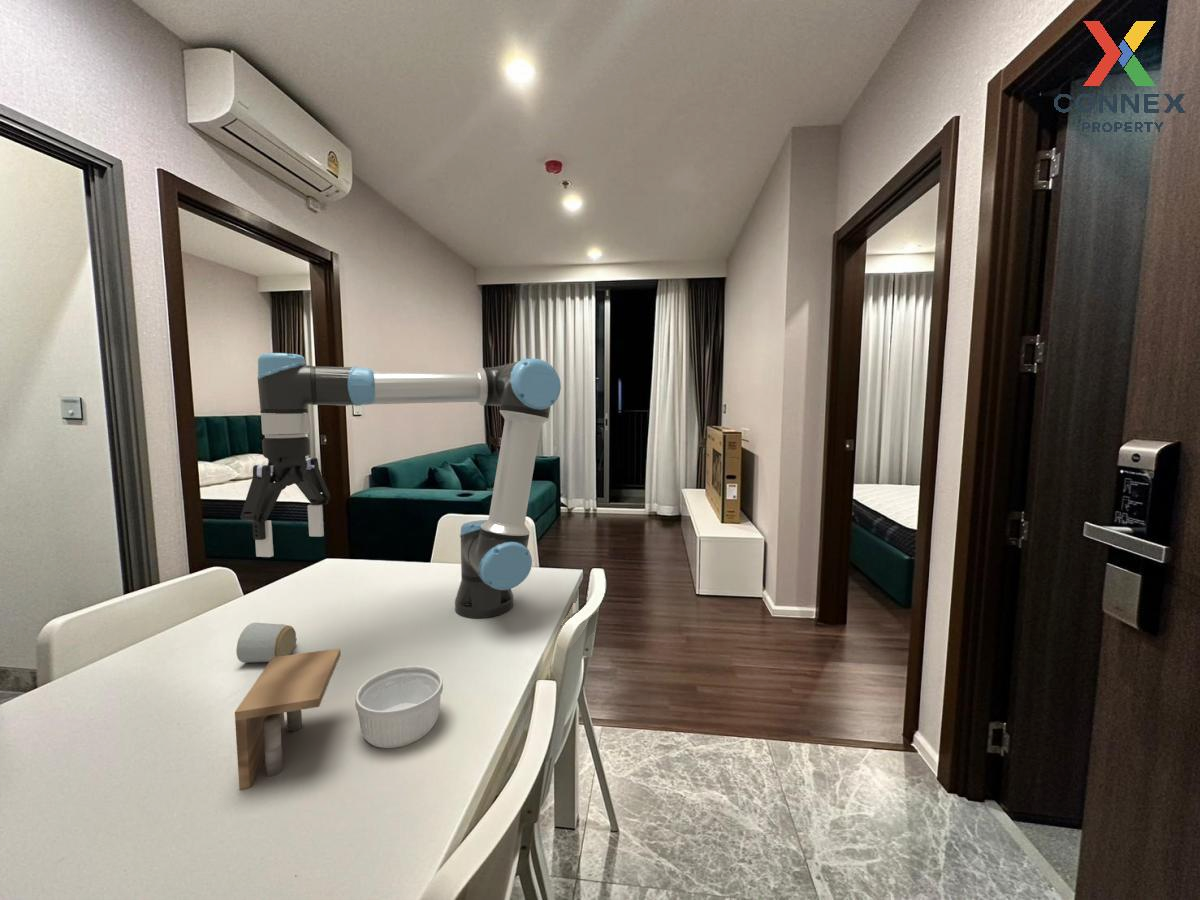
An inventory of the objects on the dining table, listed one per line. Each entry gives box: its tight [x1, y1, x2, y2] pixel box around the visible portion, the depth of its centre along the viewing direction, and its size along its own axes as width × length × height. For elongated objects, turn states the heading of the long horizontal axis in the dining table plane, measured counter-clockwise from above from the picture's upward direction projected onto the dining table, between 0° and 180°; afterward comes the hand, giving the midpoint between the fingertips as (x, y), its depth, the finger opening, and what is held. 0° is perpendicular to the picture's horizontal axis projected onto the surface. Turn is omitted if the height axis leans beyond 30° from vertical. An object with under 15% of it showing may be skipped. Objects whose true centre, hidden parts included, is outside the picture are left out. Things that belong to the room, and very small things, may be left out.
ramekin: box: [354, 665, 444, 749], centre depth 78 cm, size 13×13×7 cm
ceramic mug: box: [235, 622, 297, 663], centre depth 100 cm, size 11×8×8 cm
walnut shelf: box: [234, 648, 342, 790], centre depth 73 cm, size 10×15×11 cm, turn 18°
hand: (292, 545), depth 92 cm, fingers open, 13 cm apart
